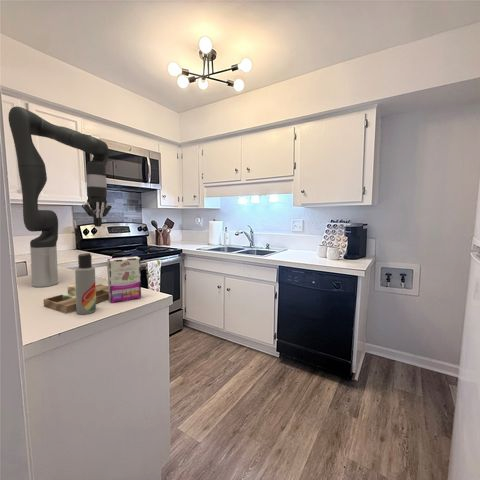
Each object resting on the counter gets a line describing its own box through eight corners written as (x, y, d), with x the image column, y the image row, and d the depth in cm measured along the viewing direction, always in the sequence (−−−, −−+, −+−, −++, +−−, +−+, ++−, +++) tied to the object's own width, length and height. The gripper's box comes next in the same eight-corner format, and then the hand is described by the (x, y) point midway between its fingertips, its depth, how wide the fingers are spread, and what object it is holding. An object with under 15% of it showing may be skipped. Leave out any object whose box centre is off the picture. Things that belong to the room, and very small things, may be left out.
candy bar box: (137, 295, 105) (137, 255, 104) (141, 298, 101) (141, 257, 100) (107, 299, 99) (107, 258, 97) (110, 303, 95) (109, 260, 93)
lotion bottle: (98, 311, 87) (97, 253, 85) (79, 316, 83) (77, 255, 81) (92, 307, 91) (91, 251, 89) (74, 311, 87) (72, 253, 84)
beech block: (67, 293, 96) (67, 286, 96) (80, 290, 101) (80, 283, 100) (76, 296, 94) (75, 288, 94) (89, 292, 99) (88, 284, 98)
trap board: (43, 306, 90) (43, 299, 90) (100, 289, 110) (100, 284, 110) (66, 313, 85) (66, 306, 84) (122, 295, 104) (122, 289, 104)
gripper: (104, 188, 117) (105, 225, 119) (75, 184, 105) (77, 226, 107) (116, 187, 114) (116, 226, 116) (88, 184, 102) (89, 227, 104)
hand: (97, 226), depth 112 cm, fingers closed
